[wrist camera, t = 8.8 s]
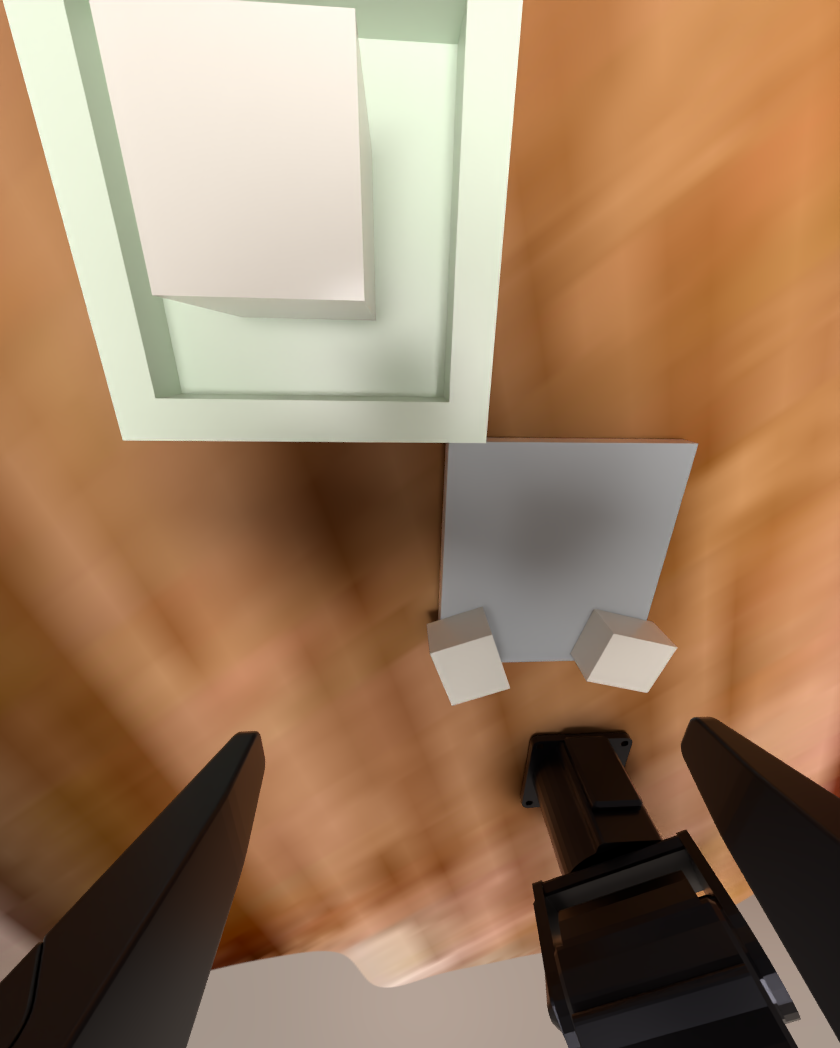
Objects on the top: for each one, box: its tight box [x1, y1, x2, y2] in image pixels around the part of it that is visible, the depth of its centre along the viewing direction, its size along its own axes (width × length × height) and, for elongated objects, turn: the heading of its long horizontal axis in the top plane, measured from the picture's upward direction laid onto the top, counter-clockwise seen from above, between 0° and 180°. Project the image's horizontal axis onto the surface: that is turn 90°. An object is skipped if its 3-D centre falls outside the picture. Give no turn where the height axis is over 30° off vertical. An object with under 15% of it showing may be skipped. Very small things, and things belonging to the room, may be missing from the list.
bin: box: [3, 0, 523, 443], centre depth 13 cm, size 14×14×2 cm
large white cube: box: [89, 0, 376, 321], centre depth 11 cm, size 5×5×6 cm
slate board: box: [427, 437, 698, 706], centre depth 19 cm, size 13×12×3 cm
